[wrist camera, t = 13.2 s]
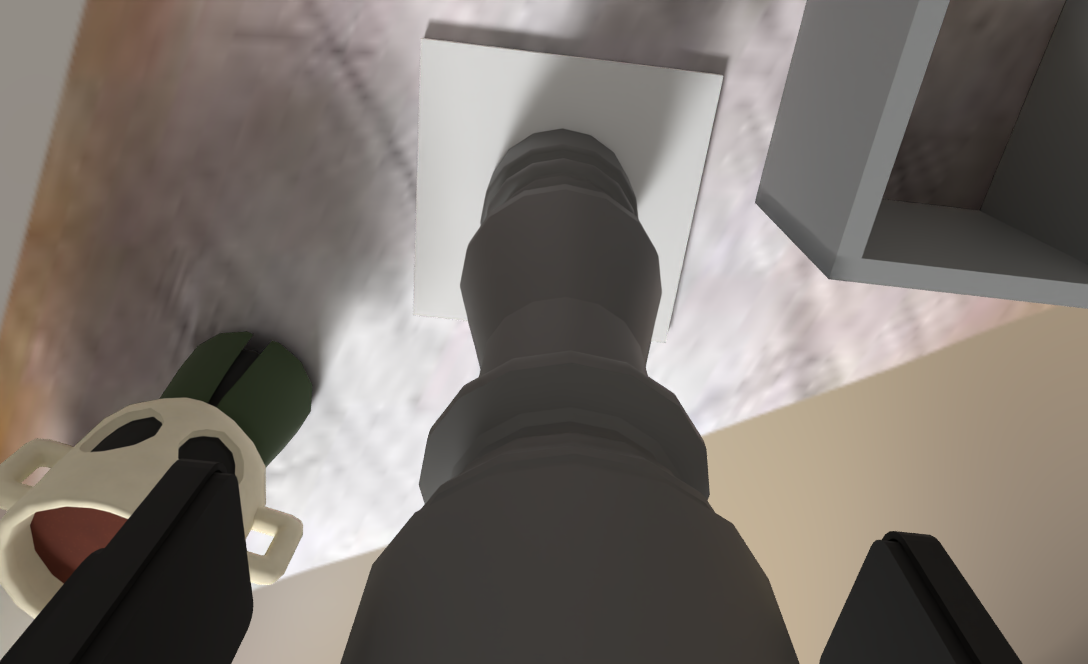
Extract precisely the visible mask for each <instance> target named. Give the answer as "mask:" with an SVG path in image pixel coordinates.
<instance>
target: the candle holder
mask: <svg viewBox="0 0 1088 664" xmlns="http://www.w3.org/2000/svg"><path fill="white" fill-rule="evenodd" d="M480 224H481V226H480V228H479V229H478V230H477V232H476V233H475V235H474V236H473V238H472V239H471V240H470V242H469V244H468V247H467V250H466V255H465V260H464V266H463V271H462V276H461V281H460V289H461V294H462V298H463V302H464V306H465V310H466V315H467V319H468V323H469V327H470V330H471V334H472V338H473V342H474V345H475V349H476V353H477V357H478V361H479V365H480V369H481V370H480V375H479V377H478V378H477V379H475V380H473V381H471V382H469V383H467V384H466V385H464V386H463V387H462V389H461V390H460V391H459V393H458V394H457V395H456V397H455V398H454V399H453V400H452V402H451V403H450V404H449V406H448V407H447V408H446V409H445V411H444V412H443V413H442V415H441V416H440V417H439V418H438V420H437V421H436V422H435V424H434V425H433V426H432V428H431V429H430V432H429V435H428V439H427V444H426V449H425V454H424V460H423V465H422V470H421V476H420V481H419V487H420V490H421V493H422V496H423V500H424V503H425V505H424V506H423V507H422V509H421V510H419V511H417V512H415V513H414V515H413V516H412V517H411V518H410V519H409V521H408V522H407V523H406V524H405V526H404V527H403V528H402V529H401V530H400V532H399V533H398V534H397V535H396V537H395V538H394V539H393V540H392V541H391V543H390V544H389V545H388V546H387V548H386V549H385V550H384V551H383V552H382V554H381V555H380V556H379V557H378V559H377V560H376V561H375V562H374V563H373V565H372V568H371V571H370V574H369V577H368V580H367V583H366V586H365V589H364V592H363V595H362V598H361V602H360V605H359V608H358V611H357V614H356V617H355V620H354V623H353V626H352V630H351V632H350V636H349V639H348V642H347V645H346V648H345V651H344V654H343V657H342V660H341V664H799V661H798V658H797V656H796V653H795V650H794V648H793V645H792V642H791V639H790V636H789V634H788V631H787V628H786V625H785V623H784V620H783V617H782V615H781V612H780V609H779V606H778V604H777V601H776V598H775V595H774V593H773V590H772V587H771V584H770V582H769V579H768V578H767V576H766V574H765V573H764V571H763V570H762V568H761V567H760V565H759V563H758V562H757V560H756V559H755V557H754V556H753V554H752V553H751V551H750V550H749V548H748V546H747V545H746V543H745V542H744V540H743V539H742V537H741V536H740V534H739V533H738V531H737V529H736V528H735V526H734V525H733V524H732V523H731V522H729V521H727V520H726V519H724V518H722V517H721V516H719V515H718V514H716V513H715V512H714V510H713V509H712V507H711V506H710V504H709V503H708V501H707V500H708V497H709V495H710V493H709V479H708V465H707V452H706V446H705V444H704V441H703V439H702V437H701V436H700V434H699V432H698V431H697V429H696V428H695V426H694V424H693V423H692V421H691V420H690V418H689V416H688V415H687V413H686V412H685V410H684V408H683V407H682V405H681V404H680V402H679V400H678V399H677V397H676V396H675V394H674V393H672V392H671V391H669V390H668V389H666V388H665V387H663V386H662V385H660V384H659V383H657V382H656V381H654V380H653V379H651V378H650V377H648V375H647V371H646V362H647V358H648V353H649V349H650V344H651V339H652V335H653V330H654V326H655V321H656V317H657V313H658V308H659V304H660V300H661V296H662V287H661V277H660V266H659V256H658V254H657V251H656V249H655V247H654V245H653V244H652V242H651V240H650V238H649V237H648V235H647V233H646V231H645V230H644V228H643V226H642V225H641V223H640V221H639V219H638V210H637V200H636V196H635V193H634V191H633V188H632V186H631V183H630V181H629V178H628V176H627V174H626V173H625V171H624V169H623V167H622V166H621V164H620V162H619V160H618V159H617V157H616V155H615V153H614V152H613V151H611V150H610V149H609V148H607V147H606V146H605V145H603V144H602V143H601V142H599V141H598V140H597V139H595V138H594V137H593V136H591V135H588V134H584V133H580V132H576V131H571V130H567V129H563V128H562V129H556V130H550V131H544V132H538V133H533V134H532V135H530V136H528V137H527V138H525V139H524V140H522V141H521V142H519V143H518V144H516V145H514V146H513V147H511V148H510V149H509V150H508V151H507V153H506V154H505V156H504V157H503V159H502V160H501V161H500V163H499V164H498V166H497V167H496V169H495V170H494V172H493V174H492V177H491V179H490V182H489V185H488V188H487V191H486V194H485V199H484V205H483V210H482V215H481V220H480Z"/></svg>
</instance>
